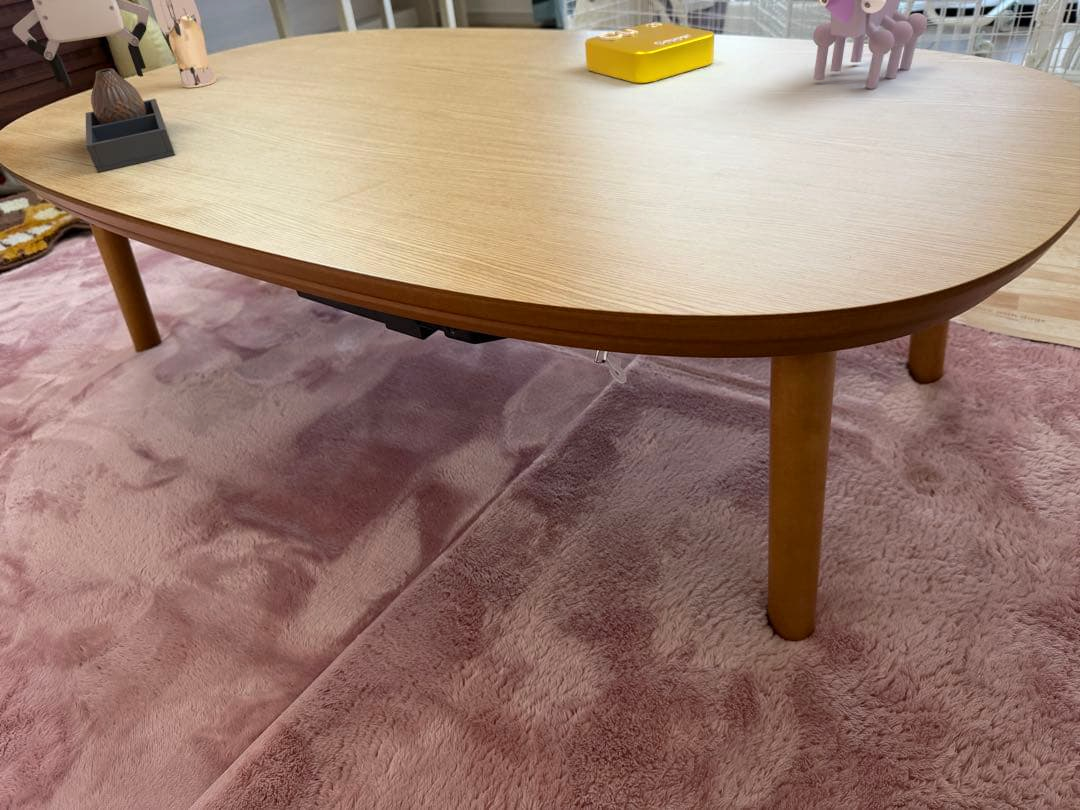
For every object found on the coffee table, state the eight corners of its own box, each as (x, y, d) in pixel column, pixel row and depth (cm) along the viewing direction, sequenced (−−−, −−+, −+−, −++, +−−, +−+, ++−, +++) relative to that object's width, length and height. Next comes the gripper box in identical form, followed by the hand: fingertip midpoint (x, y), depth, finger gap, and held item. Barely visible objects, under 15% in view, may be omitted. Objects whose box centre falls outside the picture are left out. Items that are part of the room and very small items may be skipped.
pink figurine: (852, 109, 99) (867, -14, 90) (774, 98, 105) (783, -17, 97) (924, 68, 109) (944, -45, 101) (850, 60, 116) (863, -47, 108)
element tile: (641, 85, 116) (641, 50, 113) (581, 69, 126) (579, 36, 124) (719, 62, 122) (720, 28, 119) (655, 49, 132) (655, 17, 129)
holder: (97, 172, 108) (86, 146, 106) (95, 136, 123) (85, 112, 120) (175, 155, 111) (165, 128, 109) (164, 122, 126) (155, 98, 123)
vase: (157, 131, 119) (134, 68, 114) (109, 143, 116) (83, 80, 111) (147, 121, 124) (124, 61, 118) (100, 133, 121) (75, 72, 116)
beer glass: (178, 83, 146) (147, -8, 138) (217, 75, 148) (189, -15, 139) (181, 91, 141) (148, -3, 132) (221, 83, 143) (192, -11, 134)
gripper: (122, -66, 111) (165, 65, 121) (-17, -49, 105) (40, 87, 115) (125, -62, 105) (170, 75, 115) (-23, -44, 100) (38, 98, 110)
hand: (105, 81), depth 115 cm, fingers open, 9 cm apart
